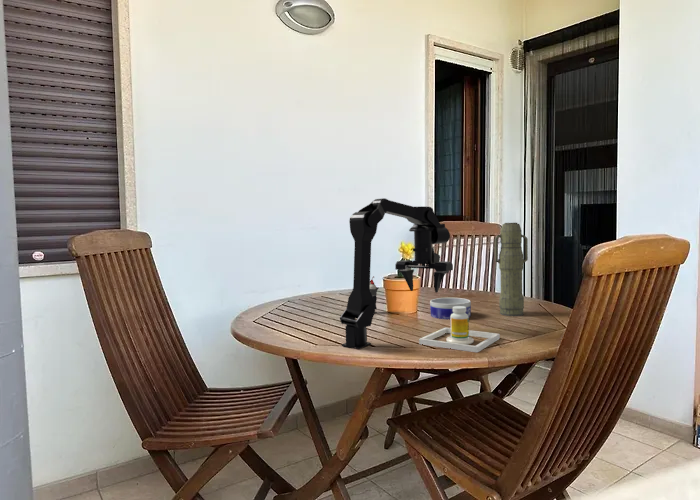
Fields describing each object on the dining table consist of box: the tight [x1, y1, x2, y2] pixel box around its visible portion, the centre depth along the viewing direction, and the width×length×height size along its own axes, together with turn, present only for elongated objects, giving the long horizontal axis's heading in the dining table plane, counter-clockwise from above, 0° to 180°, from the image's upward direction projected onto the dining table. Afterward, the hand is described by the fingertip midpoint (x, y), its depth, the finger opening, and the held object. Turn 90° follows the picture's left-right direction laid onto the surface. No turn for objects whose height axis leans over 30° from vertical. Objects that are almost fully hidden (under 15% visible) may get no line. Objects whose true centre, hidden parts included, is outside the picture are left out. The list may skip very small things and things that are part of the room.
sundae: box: [370, 276, 380, 315], centre depth 191 cm, size 7×7×15 cm
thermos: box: [494, 222, 529, 317], centre depth 181 cm, size 9×12×35 cm
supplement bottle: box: [450, 306, 470, 341], centre depth 142 cm, size 5×5×10 cm
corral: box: [418, 327, 501, 353], centre depth 142 cm, size 18×18×2 cm
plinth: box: [445, 335, 475, 345], centre depth 142 cm, size 8×8×1 cm
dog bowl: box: [429, 297, 472, 320], centre depth 182 cm, size 15×15×6 cm
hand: (423, 291), depth 158 cm, fingers open, 9 cm apart
